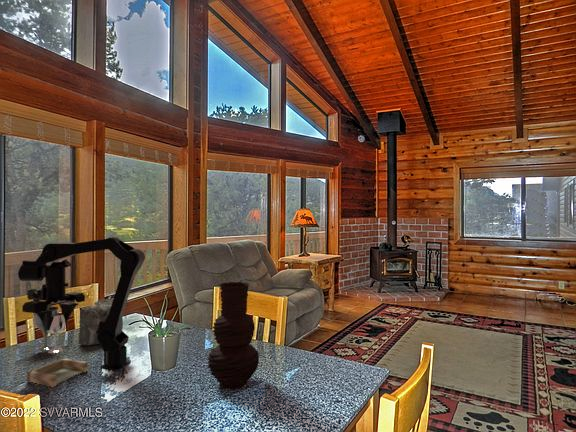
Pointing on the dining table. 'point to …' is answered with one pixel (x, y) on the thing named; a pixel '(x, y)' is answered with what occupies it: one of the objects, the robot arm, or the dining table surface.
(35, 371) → the u rest
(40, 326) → the wine glass
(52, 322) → the wineglass
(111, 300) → the rock
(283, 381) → the dining table surface
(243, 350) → the vase
